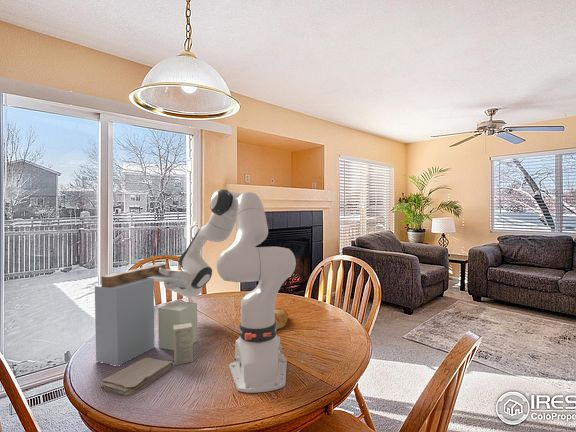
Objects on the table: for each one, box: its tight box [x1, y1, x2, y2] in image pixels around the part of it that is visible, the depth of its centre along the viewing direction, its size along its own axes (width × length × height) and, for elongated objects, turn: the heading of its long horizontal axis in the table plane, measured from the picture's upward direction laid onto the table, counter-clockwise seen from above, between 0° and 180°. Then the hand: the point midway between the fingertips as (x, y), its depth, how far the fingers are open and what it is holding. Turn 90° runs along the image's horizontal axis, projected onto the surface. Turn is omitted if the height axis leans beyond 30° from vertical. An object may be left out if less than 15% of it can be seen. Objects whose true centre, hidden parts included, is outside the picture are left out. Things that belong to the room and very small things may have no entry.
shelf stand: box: [94, 278, 156, 367], centre depth 110 cm, size 16×10×26 cm, turn 159°
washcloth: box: [100, 356, 175, 396], centre depth 95 cm, size 12×18×3 cm, turn 158°
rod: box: [100, 263, 167, 288], centre depth 115 cm, size 26×4×4 cm, turn 159°
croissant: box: [275, 308, 288, 331], centre depth 138 cm, size 21×10×8 cm, turn 160°
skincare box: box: [173, 323, 194, 366], centre depth 105 cm, size 6×4×12 cm
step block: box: [157, 300, 199, 351], centre depth 118 cm, size 10×10×15 cm
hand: (153, 269), depth 122 cm, fingers closed on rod, 3 cm apart
